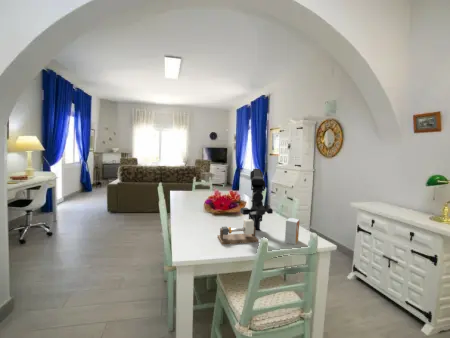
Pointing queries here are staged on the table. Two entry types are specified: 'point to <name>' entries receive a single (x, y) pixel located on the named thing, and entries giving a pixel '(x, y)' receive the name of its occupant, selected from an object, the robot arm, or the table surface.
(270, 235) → the table surface
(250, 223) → the sleeve
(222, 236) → the rod stand
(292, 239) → the small box
